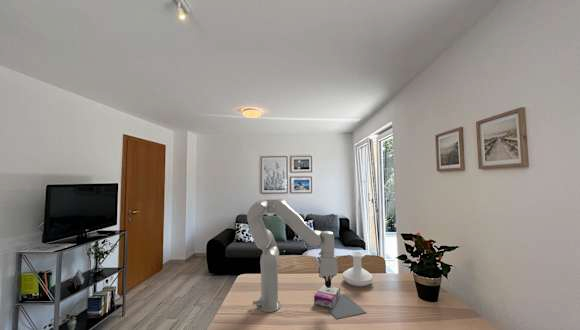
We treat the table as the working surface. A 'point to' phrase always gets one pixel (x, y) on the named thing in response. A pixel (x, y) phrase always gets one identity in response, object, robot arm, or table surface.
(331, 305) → the candy bar box
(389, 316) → the table surface
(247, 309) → the table surface
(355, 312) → the mat
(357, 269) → the candle holder
